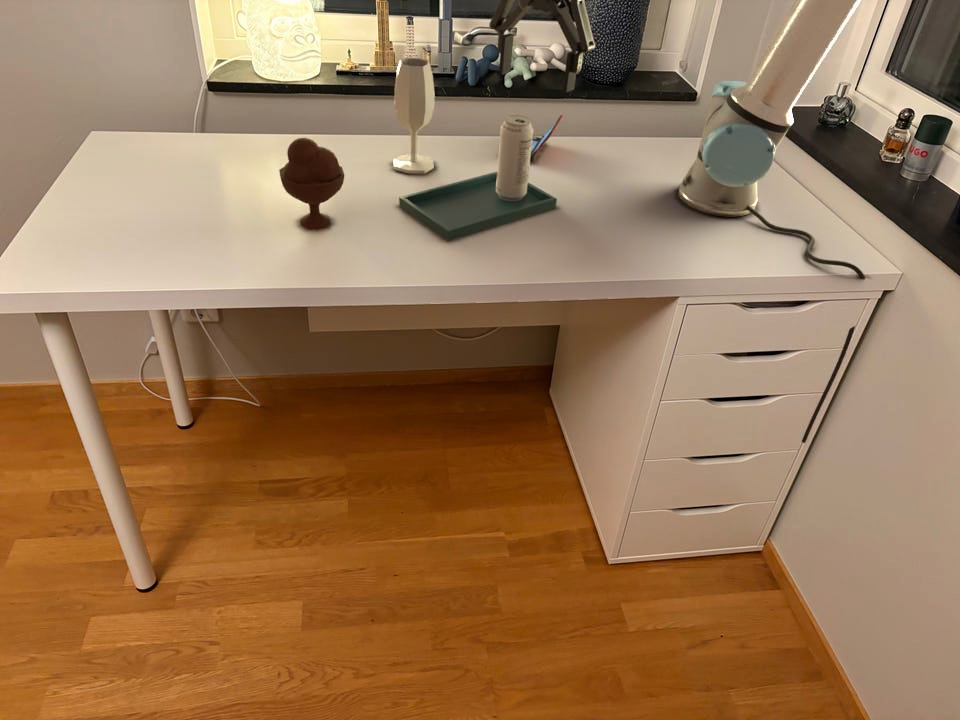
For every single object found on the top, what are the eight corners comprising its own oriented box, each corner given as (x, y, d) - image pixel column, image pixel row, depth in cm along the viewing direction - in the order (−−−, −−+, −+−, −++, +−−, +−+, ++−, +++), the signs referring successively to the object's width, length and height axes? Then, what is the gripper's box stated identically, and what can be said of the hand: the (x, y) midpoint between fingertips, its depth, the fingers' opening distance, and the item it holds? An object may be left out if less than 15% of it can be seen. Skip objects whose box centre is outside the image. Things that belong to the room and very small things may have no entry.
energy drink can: (506, 186, 151) (512, 111, 142) (531, 195, 148) (540, 119, 139) (489, 196, 147) (495, 119, 138) (515, 205, 144) (523, 128, 135)
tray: (555, 208, 146) (557, 198, 145) (448, 241, 132) (448, 231, 131) (504, 178, 155) (505, 169, 154) (399, 206, 142) (399, 196, 141)
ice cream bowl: (287, 239, 129) (278, 155, 120) (282, 210, 138) (274, 129, 129) (349, 235, 132) (346, 152, 123) (341, 206, 140) (337, 127, 131)
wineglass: (428, 177, 153) (431, 71, 140) (387, 171, 154) (386, 65, 141) (439, 161, 160) (442, 58, 147) (399, 155, 161) (399, 53, 148)
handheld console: (513, 138, 173) (516, 105, 169) (559, 146, 171) (564, 113, 167) (498, 157, 164) (501, 123, 159) (547, 166, 162) (551, 132, 157)
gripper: (474, -61, 126) (467, 69, 139) (606, -36, 115) (585, 103, 128) (500, -65, 131) (491, 61, 144) (628, -42, 120) (606, 93, 133)
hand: (535, 81), depth 136 cm, fingers open, 13 cm apart
